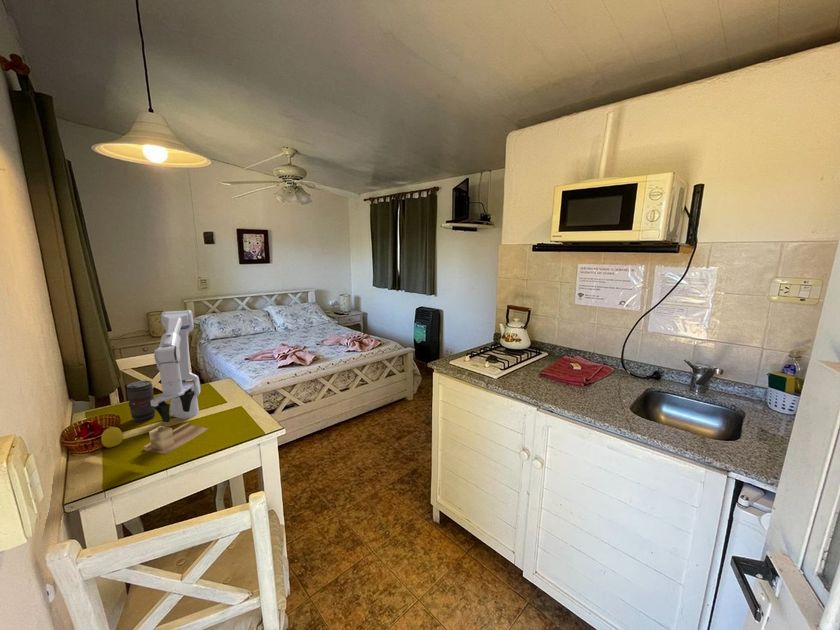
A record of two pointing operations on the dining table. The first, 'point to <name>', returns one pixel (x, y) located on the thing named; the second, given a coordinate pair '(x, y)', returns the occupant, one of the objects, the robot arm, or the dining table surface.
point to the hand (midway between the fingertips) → (176, 416)
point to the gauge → (161, 438)
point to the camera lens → (141, 400)
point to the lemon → (112, 437)
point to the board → (179, 437)
